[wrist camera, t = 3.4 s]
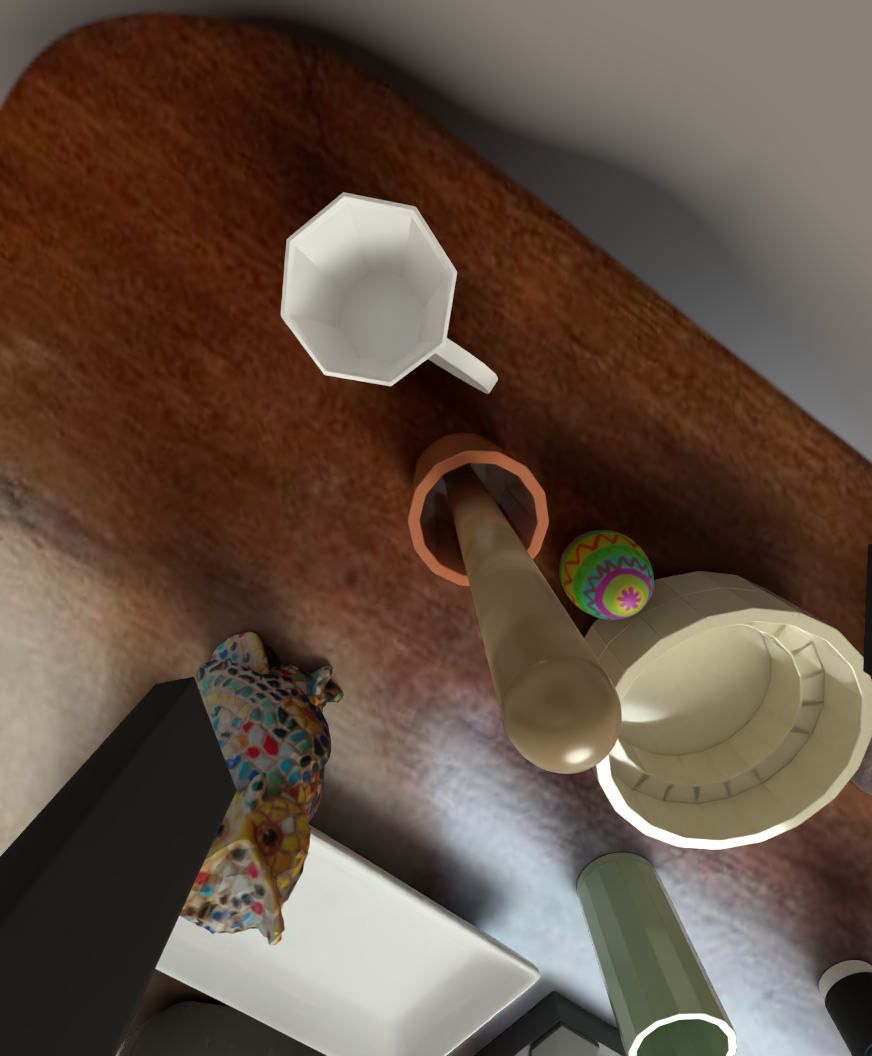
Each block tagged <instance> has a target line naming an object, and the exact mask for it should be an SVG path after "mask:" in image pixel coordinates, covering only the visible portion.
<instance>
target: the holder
mask: <svg viewBox="0 0 872 1056" xmlns="http://www.w3.org/2000/svg"><path fill="white" fill-rule="evenodd" d="M459 470H470V471H472V472H474V473H475V474H477V475H478V477H479V478H480V480H481V481H482V483H483V484H484V486H485V487H486V489H487V490H488V492H489V493H490V495H491V496H492V498H493V500H494V501H495V503H496V504H497V506H498V507H499V509H500V510H501V512H502V513H503V515H504V516H505V518H506V519H507V521H508V523H509V524H510V526H511V527H512V529H513V530H514V532H515V533H516V535H517V536H518V538H519V539H520V541H521V542H522V544H523V546H524V547H525V549H526V550H527V552H528V553H529V555H530V556H531V558H532V559H533V558H534V557H535V556H536V555H537V554H538V553H539V551H540V549H541V546H542V543H543V540H544V537H545V534H546V531H547V528H548V525H549V517H548V510H547V503H546V496H545V492H544V490H543V488H542V487H541V486H540V484H539V483H538V481H537V480H536V478H535V477H534V476H533V474H532V473H531V471H530V470H529V469H528V467H526V466H525V465H524V464H523V463H521V462H520V461H519V460H517V459H516V458H514V457H513V456H512V455H510V454H509V453H508V452H506V451H505V450H503V449H502V448H501V447H499V446H498V445H497V444H495V443H493V442H491V441H489V440H488V439H486V438H484V437H482V436H480V435H478V434H471V433H454V434H450V435H447V436H444V437H442V438H440V439H438V440H436V441H435V442H433V443H432V444H431V445H429V446H428V448H427V449H426V450H425V451H424V452H423V453H422V455H421V456H420V458H419V459H418V460H417V463H416V467H415V470H414V475H413V479H412V483H411V492H410V501H409V510H408V525H409V530H410V534H411V539H412V543H413V548H414V549H415V551H416V552H417V554H418V555H419V556H420V557H421V559H422V560H423V561H424V562H425V564H426V565H427V566H428V567H429V569H430V570H431V571H432V572H433V573H435V574H437V575H439V576H441V577H443V578H445V579H448V580H450V581H452V582H454V583H456V584H458V585H466V586H470V585H469V581H468V577H467V573H466V568H465V564H464V560H463V556H462V552H461V548H460V544H459V540H458V536H457V531H456V527H455V523H454V519H453V515H452V511H451V507H450V503H449V499H448V494H447V490H446V486H447V482H448V479H449V477H450V476H451V475H452V474H453V473H455V472H456V471H459Z"/></svg>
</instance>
